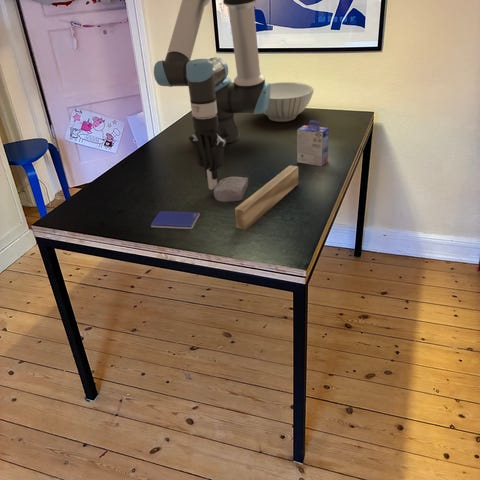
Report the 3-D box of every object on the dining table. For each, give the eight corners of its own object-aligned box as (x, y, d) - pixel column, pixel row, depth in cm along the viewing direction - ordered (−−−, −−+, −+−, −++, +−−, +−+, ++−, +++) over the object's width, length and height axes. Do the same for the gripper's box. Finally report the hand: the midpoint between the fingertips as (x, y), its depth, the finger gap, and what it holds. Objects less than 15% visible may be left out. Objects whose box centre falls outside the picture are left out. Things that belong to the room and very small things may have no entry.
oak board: (236, 227, 134) (234, 208, 131) (290, 182, 156) (289, 165, 153) (245, 229, 132) (243, 210, 129) (298, 183, 154) (298, 166, 151)
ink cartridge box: (329, 161, 168) (330, 120, 160) (322, 167, 164) (323, 126, 157) (303, 157, 173) (303, 117, 165) (296, 162, 169) (296, 122, 161)
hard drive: (199, 211, 141) (160, 210, 144) (191, 225, 135) (150, 224, 137) (200, 216, 142) (161, 215, 145) (192, 230, 135) (151, 228, 138)
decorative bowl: (292, 131, 197) (292, 101, 190) (240, 121, 211) (238, 93, 205) (323, 113, 214) (324, 85, 208) (274, 105, 229) (273, 79, 222)
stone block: (214, 206, 149) (244, 201, 146) (209, 192, 147) (240, 187, 144) (222, 191, 159) (251, 185, 156) (218, 177, 157) (247, 172, 154)
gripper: (179, 116, 142) (190, 188, 154) (215, 121, 135) (222, 196, 148) (195, 109, 147) (204, 179, 159) (230, 113, 140) (236, 186, 153)
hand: (213, 187), depth 153 cm, fingers closed
